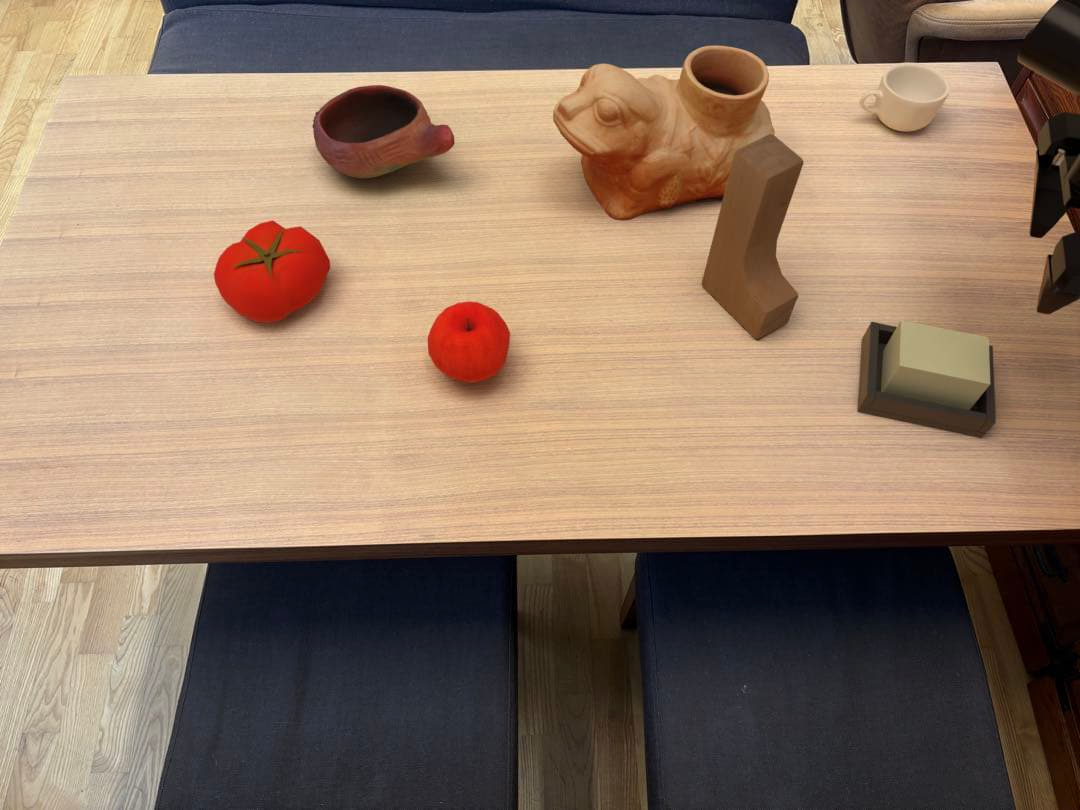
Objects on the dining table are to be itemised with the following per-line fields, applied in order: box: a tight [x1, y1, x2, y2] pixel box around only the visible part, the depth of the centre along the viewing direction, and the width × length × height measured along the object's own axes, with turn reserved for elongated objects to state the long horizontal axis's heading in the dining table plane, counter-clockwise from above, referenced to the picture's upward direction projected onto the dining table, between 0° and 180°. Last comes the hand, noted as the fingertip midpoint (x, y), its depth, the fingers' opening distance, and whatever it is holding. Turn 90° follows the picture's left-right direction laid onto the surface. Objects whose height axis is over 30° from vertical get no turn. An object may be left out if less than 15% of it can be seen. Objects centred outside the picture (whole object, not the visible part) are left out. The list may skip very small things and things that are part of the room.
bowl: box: [312, 84, 455, 179], centre depth 96 cm, size 16×13×8 cm
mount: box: [856, 321, 997, 439], centre depth 82 cm, size 12×9×3 cm
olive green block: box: [881, 319, 990, 410], centre depth 80 cm, size 8×6×5 cm
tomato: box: [213, 219, 331, 323], centre depth 86 cm, size 10×11×6 cm
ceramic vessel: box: [552, 45, 776, 221], centre depth 93 cm, size 14×26×15 cm, turn 108°
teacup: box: [859, 62, 951, 133], centre depth 102 cm, size 10×8×5 cm
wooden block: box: [701, 134, 805, 340], centre depth 81 cm, size 9×4×18 cm, turn 33°
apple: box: [427, 300, 511, 383], centre depth 81 cm, size 8×8×7 cm
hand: (1038, 272), depth 75 cm, fingers open, 9 cm apart
